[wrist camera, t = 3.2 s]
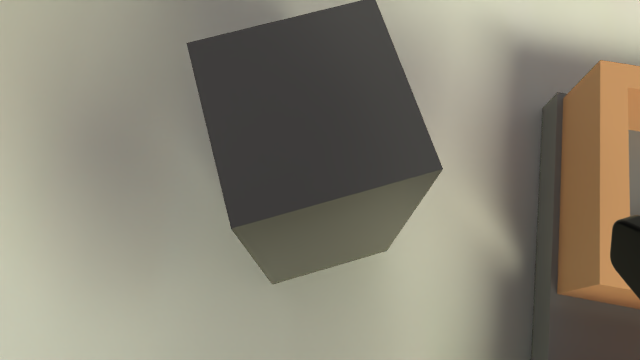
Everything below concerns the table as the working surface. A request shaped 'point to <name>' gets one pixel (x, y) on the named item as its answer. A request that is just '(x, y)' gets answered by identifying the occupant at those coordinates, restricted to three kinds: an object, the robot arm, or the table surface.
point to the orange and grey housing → (587, 218)
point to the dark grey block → (314, 137)
